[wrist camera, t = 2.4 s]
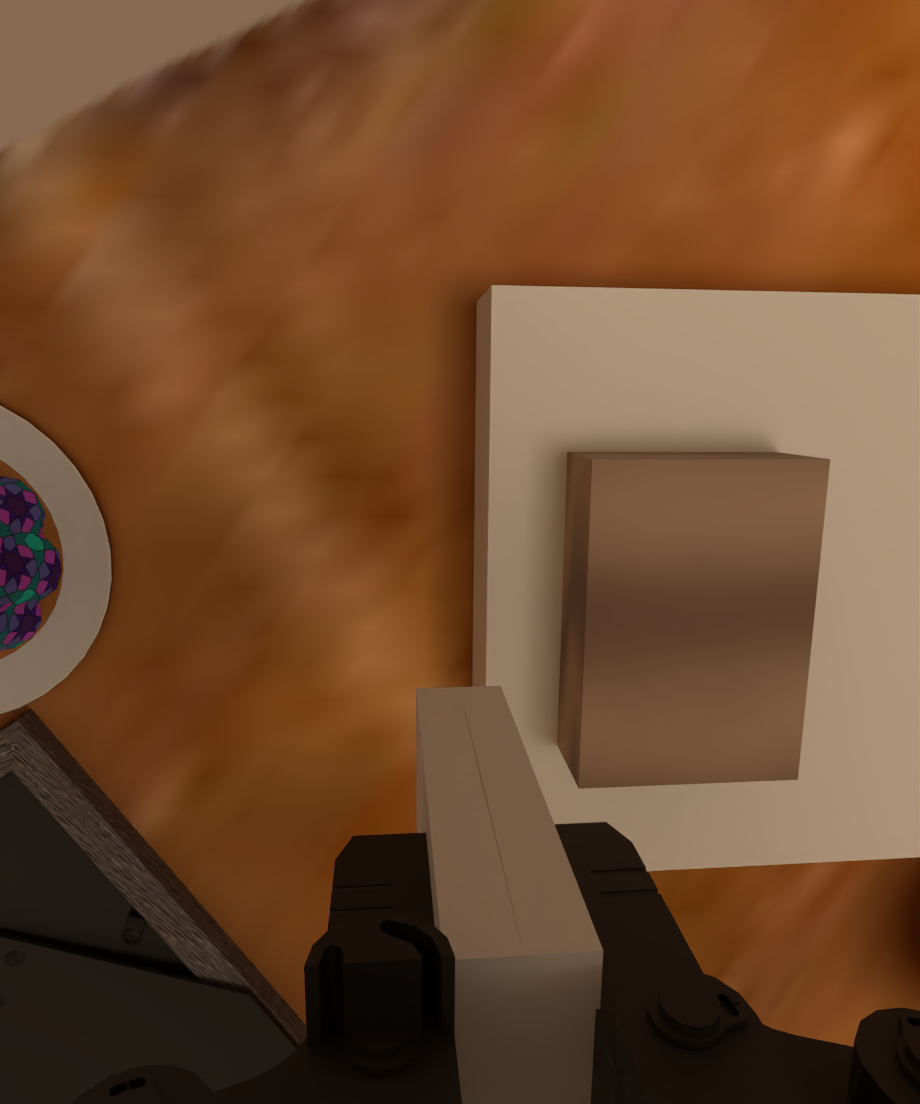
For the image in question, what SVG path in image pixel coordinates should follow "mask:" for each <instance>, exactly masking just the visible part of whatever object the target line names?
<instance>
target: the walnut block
mask: <svg viewBox="0 0 920 1104" xmlns="http://www.w3.org/2000/svg"><path fill="white" fill-rule="evenodd" d="M829 468H830V459H825V458H817V457H810V456H802V455H795V454H787V453H780V452H567V478H566V507H565V536H564V565H563V593H562V622H561V651H560V680H559V708H558V737H557V746H558V748H559V750H560V752H561V754H562V756H563V758H564V760H565V762H566V764H567V766H568V768H569V770H570V772H571V774H572V776H573V778H574V780H575V782H576V784H577V786H578V788H579V789H583V788H608V787H632V786H657V785H681V784H706V783H731V782H755V781H780V780H798V773H799V763H800V753H801V744H802V734H803V724H804V714H805V704H806V694H807V685H808V675H809V665H810V655H811V645H812V635H813V625H814V616H815V606H816V596H817V586H818V576H819V566H820V557H821V547H822V537H823V527H824V517H825V507H826V498H827V488H828V478H829Z"/></svg>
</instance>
